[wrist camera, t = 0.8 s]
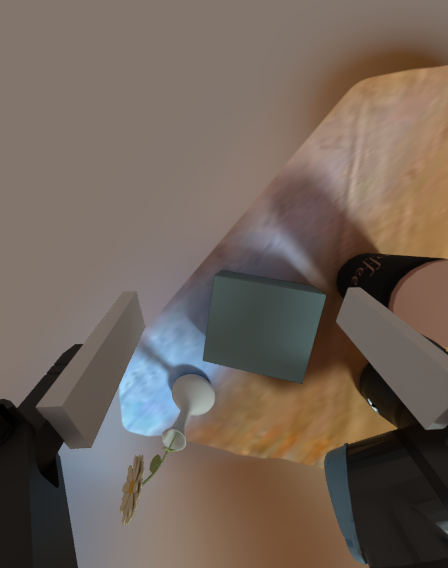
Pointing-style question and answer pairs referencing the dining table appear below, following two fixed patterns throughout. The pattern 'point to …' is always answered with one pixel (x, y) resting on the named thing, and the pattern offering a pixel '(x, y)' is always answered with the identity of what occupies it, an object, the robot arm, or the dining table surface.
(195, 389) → the flower in vase
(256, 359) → the green riser stand
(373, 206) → the dining table surface
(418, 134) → the dining table surface
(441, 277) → the coffee jar
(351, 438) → the dining table surface
